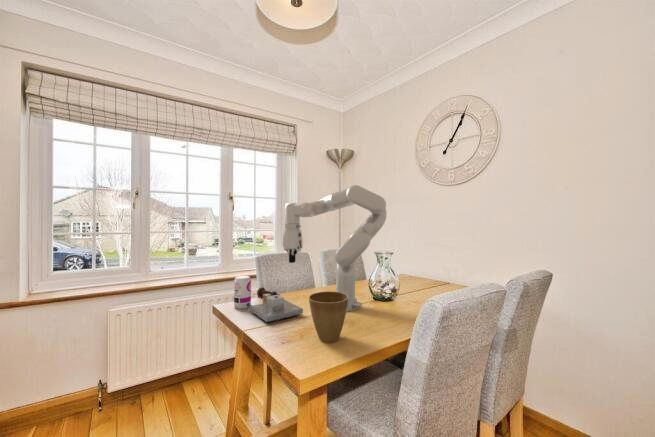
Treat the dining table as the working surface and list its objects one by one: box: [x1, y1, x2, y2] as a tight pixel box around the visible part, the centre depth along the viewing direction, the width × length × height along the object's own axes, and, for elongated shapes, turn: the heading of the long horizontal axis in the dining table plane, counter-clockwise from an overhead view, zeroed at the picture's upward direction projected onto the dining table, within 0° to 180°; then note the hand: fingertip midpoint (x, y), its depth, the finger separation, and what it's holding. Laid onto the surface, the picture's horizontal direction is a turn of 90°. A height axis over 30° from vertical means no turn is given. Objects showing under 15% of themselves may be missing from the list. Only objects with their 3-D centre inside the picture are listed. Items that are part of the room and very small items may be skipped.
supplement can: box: [233, 275, 252, 310], centre depth 143 cm, size 8×8×15 cm
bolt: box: [256, 286, 281, 298], centre depth 157 cm, size 6×5×15 cm
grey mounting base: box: [249, 294, 304, 323], centre depth 133 cm, size 18×20×7 cm
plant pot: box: [308, 290, 348, 343], centre depth 107 cm, size 15×15×16 cm
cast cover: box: [266, 294, 285, 311], centre depth 131 cm, size 6×6×5 cm
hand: (292, 262), depth 146 cm, fingers closed
